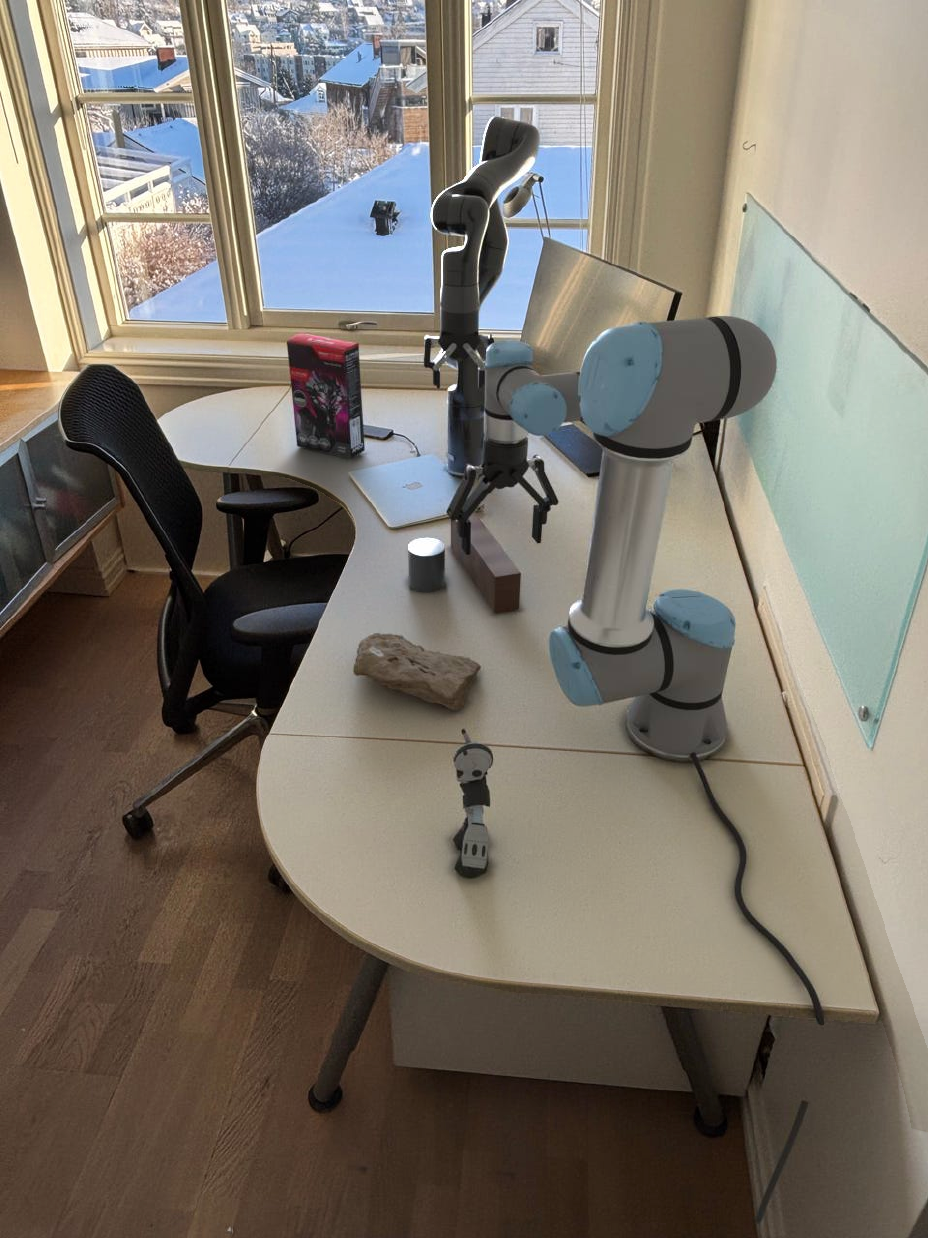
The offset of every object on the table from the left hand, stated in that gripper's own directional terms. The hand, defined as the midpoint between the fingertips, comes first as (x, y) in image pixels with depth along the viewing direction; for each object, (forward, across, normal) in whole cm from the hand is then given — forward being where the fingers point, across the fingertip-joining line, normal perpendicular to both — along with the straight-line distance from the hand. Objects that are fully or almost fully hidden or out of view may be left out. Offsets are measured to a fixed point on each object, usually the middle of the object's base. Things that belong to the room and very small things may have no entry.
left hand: (459, 386), depth 188 cm
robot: (+28, +3, +99) cm, 103 cm away
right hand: (+16, -6, +37) cm, 41 cm away
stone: (+28, +11, +61) cm, 69 cm away
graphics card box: (+28, +30, -35) cm, 54 cm away
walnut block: (+28, -4, +28) cm, 40 cm away
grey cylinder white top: (+28, +8, +30) cm, 42 cm away
